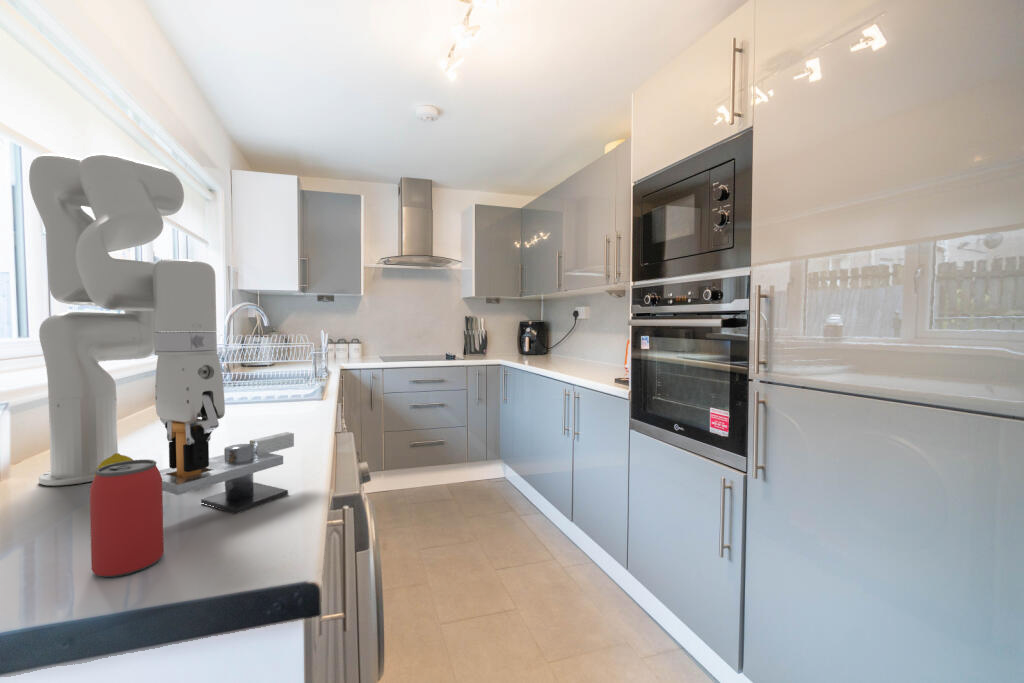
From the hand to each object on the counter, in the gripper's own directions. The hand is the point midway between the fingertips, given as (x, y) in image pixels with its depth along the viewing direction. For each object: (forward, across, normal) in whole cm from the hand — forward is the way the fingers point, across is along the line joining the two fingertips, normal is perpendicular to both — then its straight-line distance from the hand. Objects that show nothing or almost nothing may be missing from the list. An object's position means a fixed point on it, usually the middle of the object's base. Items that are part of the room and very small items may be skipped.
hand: (189, 466), depth 68 cm
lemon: (+8, +18, +2) cm, 20 cm away
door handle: (+8, 0, -6) cm, 10 cm away
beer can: (+8, -8, +11) cm, 16 cm away
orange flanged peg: (+3, 0, 0) cm, 3 cm away
